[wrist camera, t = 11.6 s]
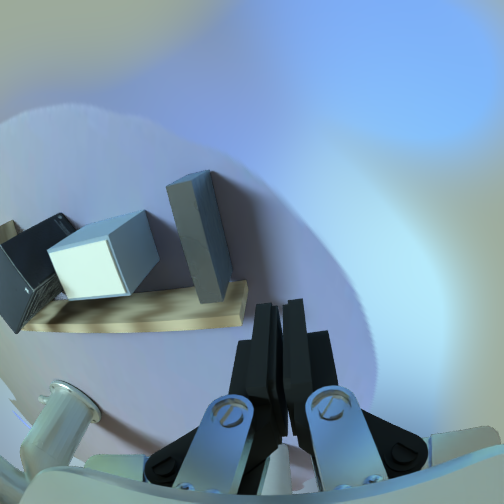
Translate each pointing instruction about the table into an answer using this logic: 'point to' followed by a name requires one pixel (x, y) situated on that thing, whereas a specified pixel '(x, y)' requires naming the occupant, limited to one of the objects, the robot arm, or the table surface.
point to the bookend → (201, 235)
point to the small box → (30, 271)
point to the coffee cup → (278, 473)
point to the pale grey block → (105, 257)
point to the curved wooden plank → (138, 309)
